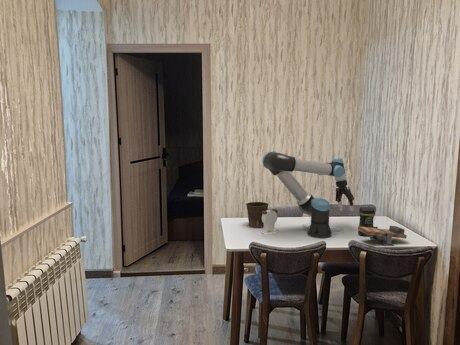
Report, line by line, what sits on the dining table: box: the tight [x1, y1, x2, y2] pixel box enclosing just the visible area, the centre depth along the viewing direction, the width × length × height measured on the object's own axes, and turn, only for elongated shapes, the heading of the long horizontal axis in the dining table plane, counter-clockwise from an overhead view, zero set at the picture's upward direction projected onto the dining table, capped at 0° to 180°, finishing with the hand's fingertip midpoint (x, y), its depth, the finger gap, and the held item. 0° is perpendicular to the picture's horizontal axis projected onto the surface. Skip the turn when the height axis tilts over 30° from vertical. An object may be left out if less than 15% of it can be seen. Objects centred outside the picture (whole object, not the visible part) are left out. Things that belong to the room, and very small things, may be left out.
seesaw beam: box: [357, 225, 408, 239], centre depth 238 cm, size 26×12×5 cm, turn 101°
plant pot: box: [245, 201, 269, 229], centre depth 276 cm, size 16×16×16 cm
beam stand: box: [369, 226, 395, 247], centre depth 238 cm, size 6×16×8 cm, turn 12°
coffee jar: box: [357, 206, 376, 237], centre depth 253 cm, size 10×8×19 cm
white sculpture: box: [260, 208, 279, 235], centre depth 261 cm, size 12×11×15 cm
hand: (346, 210), depth 265 cm, fingers open, 13 cm apart
